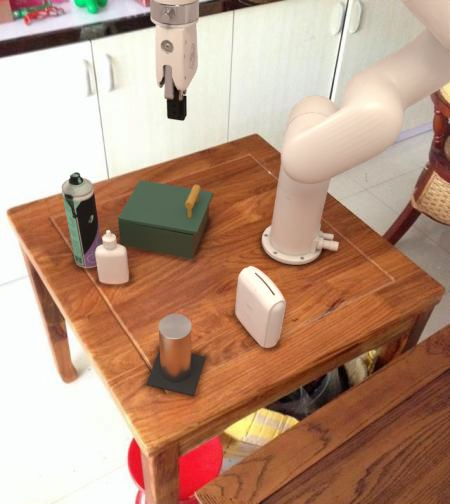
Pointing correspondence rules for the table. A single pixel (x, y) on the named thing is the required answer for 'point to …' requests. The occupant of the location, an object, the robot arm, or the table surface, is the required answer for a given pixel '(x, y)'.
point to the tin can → (175, 347)
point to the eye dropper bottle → (112, 261)
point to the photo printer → (259, 306)
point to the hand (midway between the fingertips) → (177, 117)
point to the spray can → (82, 219)
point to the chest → (161, 238)
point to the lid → (167, 207)
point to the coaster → (181, 387)
